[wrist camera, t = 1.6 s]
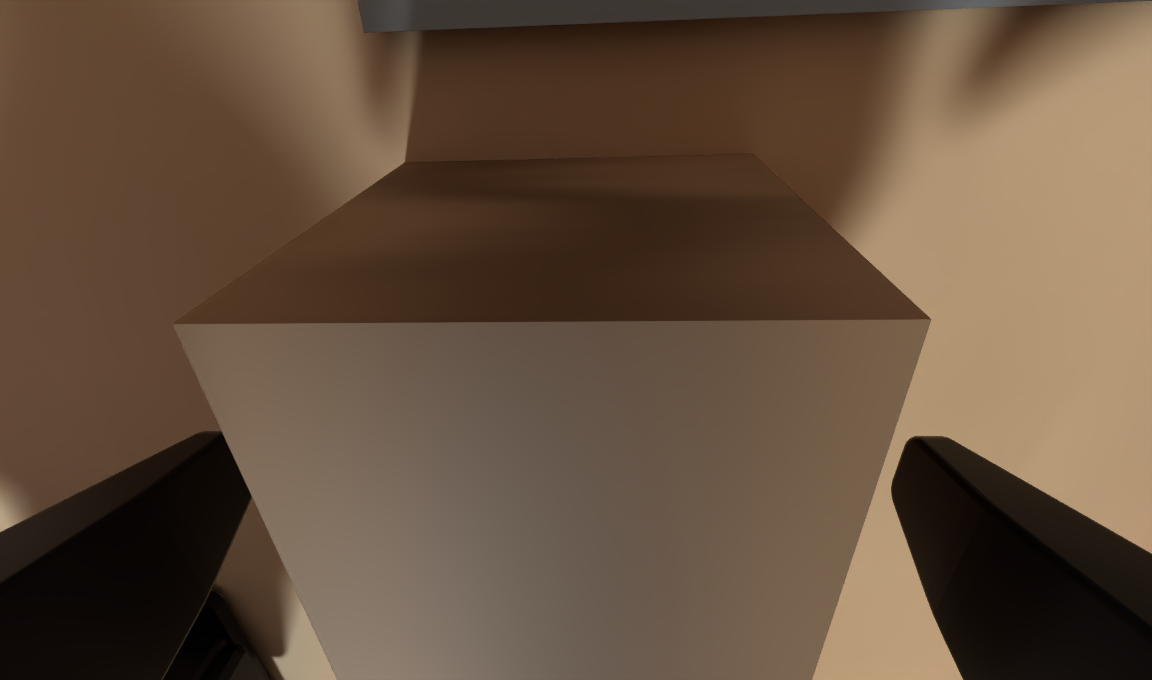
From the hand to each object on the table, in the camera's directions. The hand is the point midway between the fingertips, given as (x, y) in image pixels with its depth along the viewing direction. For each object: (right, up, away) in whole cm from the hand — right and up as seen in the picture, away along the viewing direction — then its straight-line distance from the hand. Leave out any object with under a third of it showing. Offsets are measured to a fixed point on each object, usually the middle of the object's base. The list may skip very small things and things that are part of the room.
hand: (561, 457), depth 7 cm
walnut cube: (0, +2, +4) cm, 4 cm away
